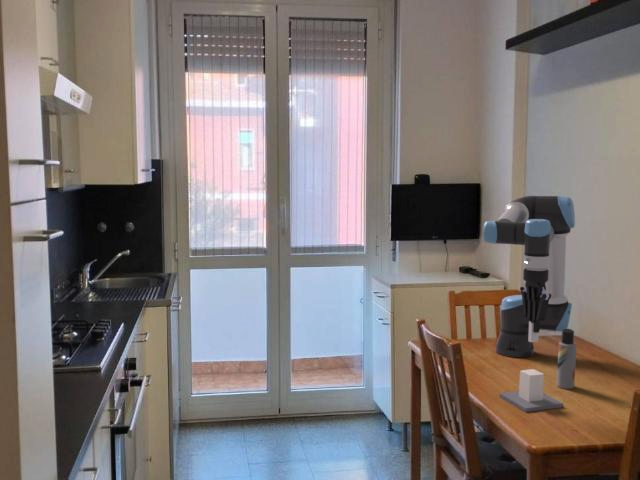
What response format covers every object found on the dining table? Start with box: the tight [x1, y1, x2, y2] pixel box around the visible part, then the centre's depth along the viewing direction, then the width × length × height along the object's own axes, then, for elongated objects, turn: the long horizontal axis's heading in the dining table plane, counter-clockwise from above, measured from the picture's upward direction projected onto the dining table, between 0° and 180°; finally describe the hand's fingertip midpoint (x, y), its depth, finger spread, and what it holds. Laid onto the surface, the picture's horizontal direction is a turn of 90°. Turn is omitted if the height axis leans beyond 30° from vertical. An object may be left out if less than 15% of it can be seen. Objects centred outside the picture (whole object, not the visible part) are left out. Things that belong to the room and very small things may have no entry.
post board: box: [499, 390, 564, 413], centre depth 209 cm, size 14×14×8 cm
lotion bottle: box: [556, 328, 577, 390], centre depth 224 cm, size 6×6×20 cm
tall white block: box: [518, 368, 545, 402], centre depth 209 cm, size 5×5×9 cm
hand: (533, 341), depth 208 cm, fingers closed
